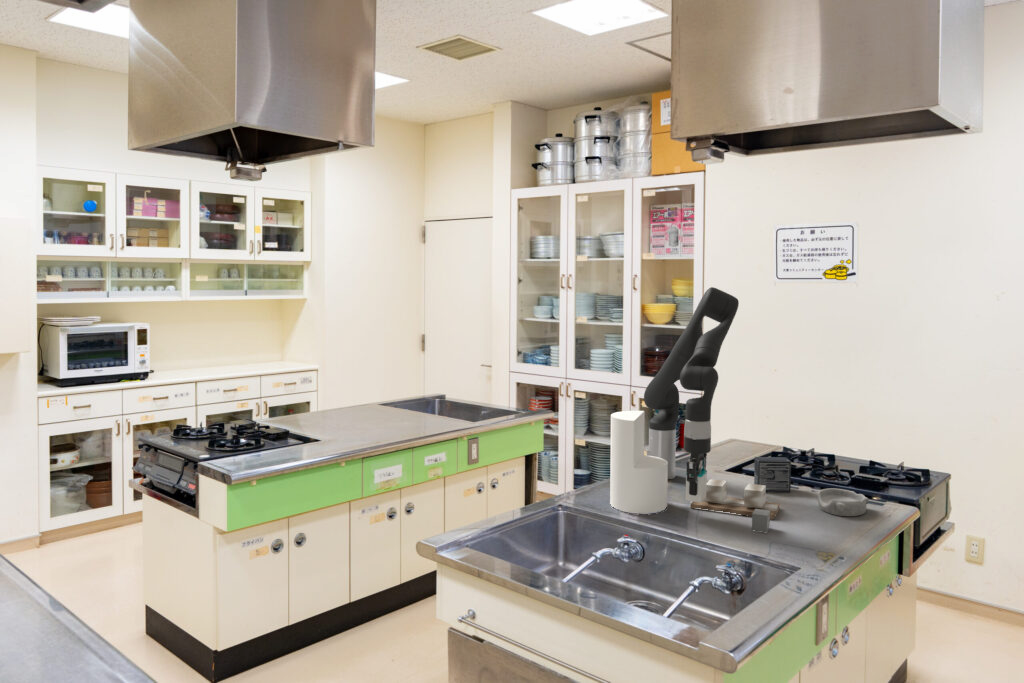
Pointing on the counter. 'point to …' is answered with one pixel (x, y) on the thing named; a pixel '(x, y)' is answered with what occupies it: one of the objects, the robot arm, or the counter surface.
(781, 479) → the small box
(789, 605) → the counter surface
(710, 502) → the board
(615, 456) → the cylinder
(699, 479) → the block
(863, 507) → the dish
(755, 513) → the grey block
